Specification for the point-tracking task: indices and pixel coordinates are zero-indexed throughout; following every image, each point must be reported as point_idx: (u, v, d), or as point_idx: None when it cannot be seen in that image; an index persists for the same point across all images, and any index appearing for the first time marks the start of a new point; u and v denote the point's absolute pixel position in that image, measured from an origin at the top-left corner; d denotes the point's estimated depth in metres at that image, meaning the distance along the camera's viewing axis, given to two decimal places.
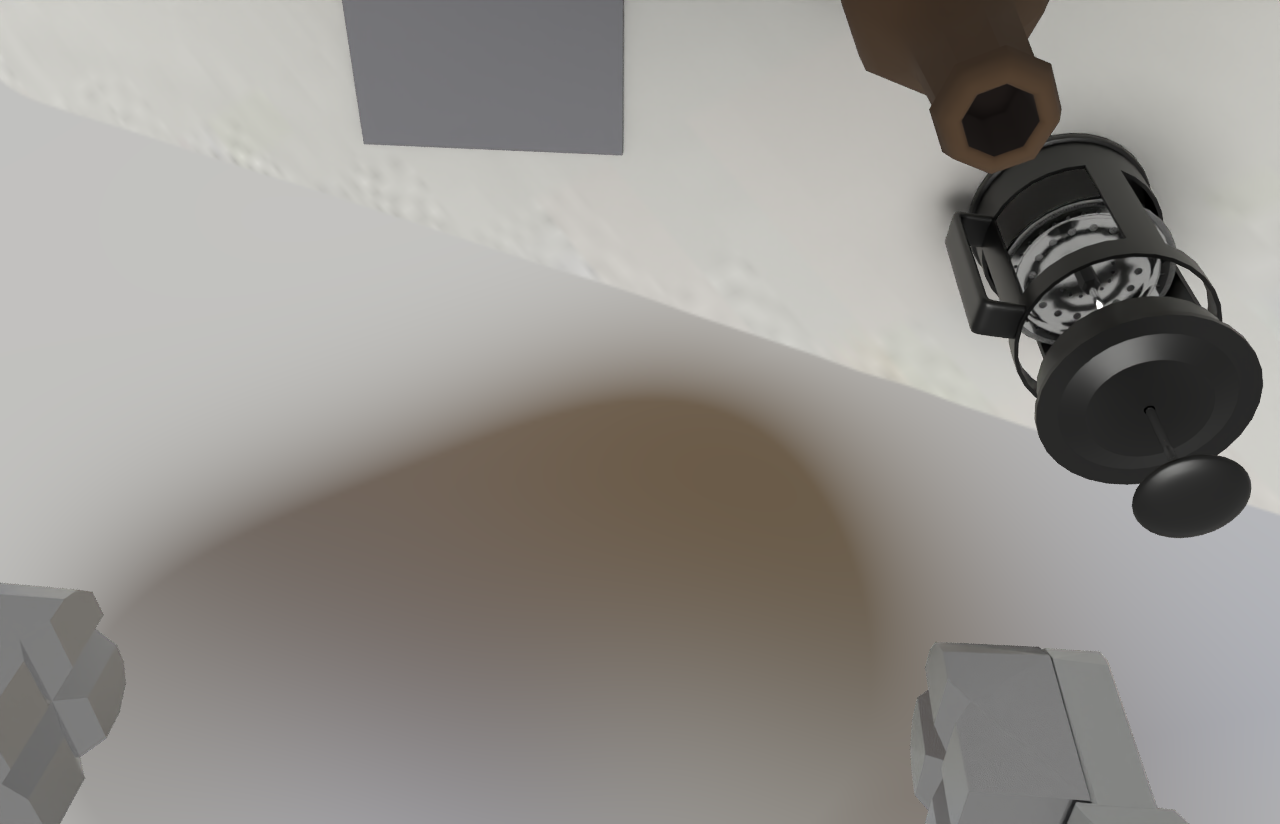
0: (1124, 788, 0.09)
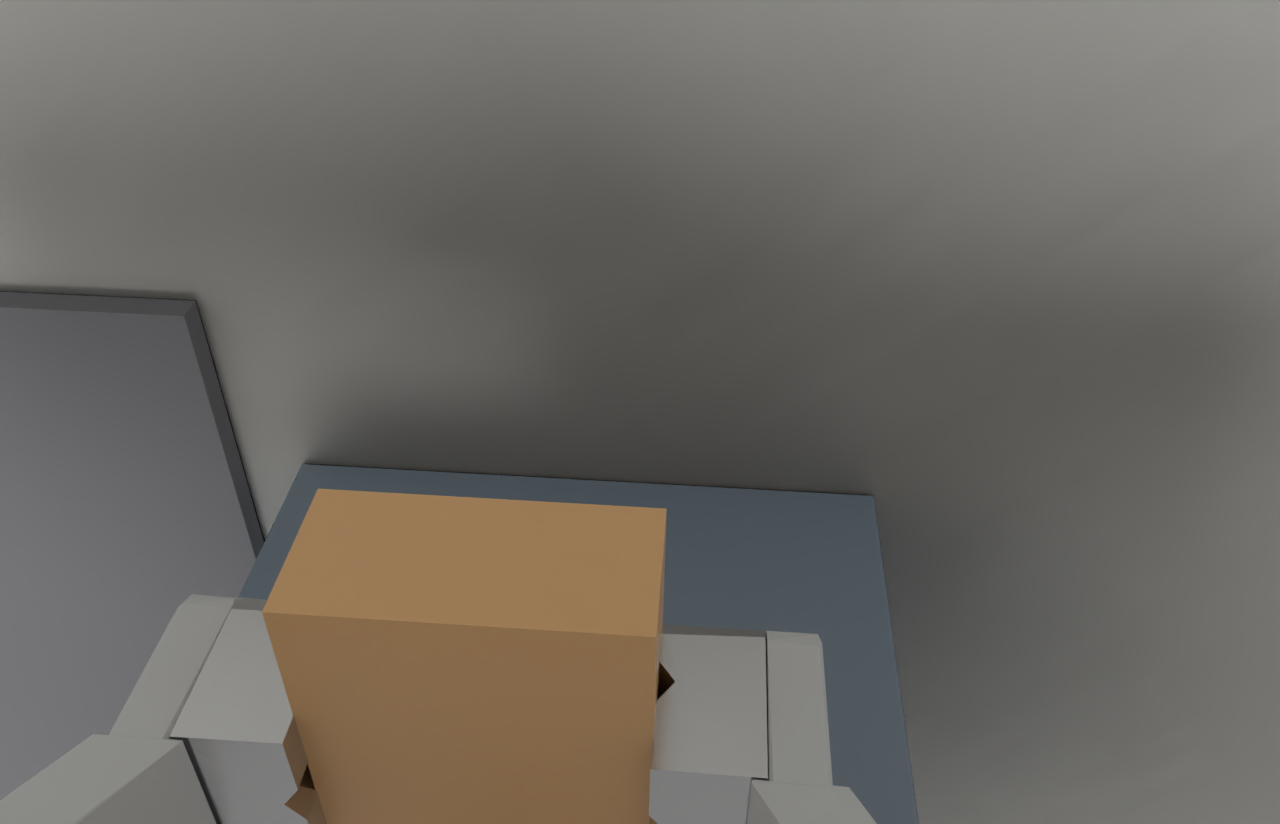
0: (803, 766, 0.09)
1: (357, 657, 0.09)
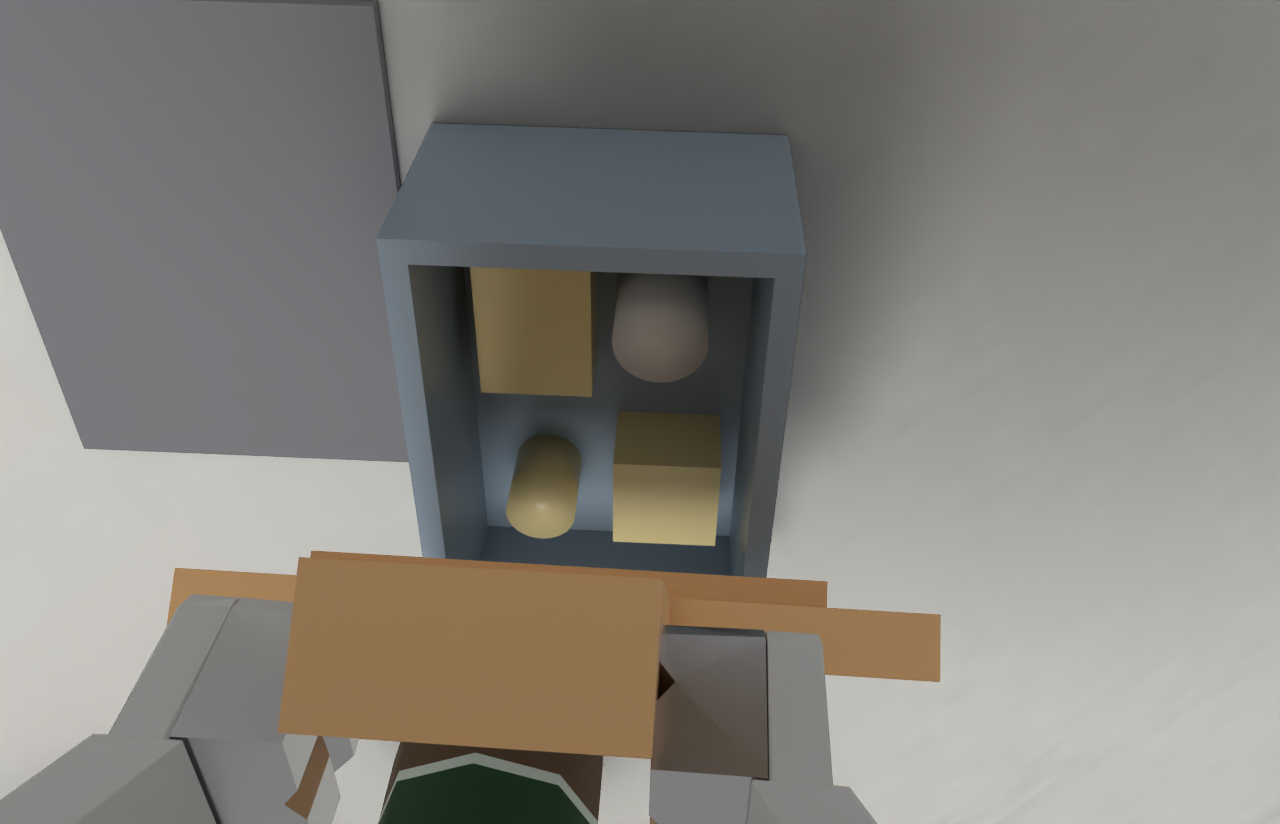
0: (804, 766, 0.09)
1: None
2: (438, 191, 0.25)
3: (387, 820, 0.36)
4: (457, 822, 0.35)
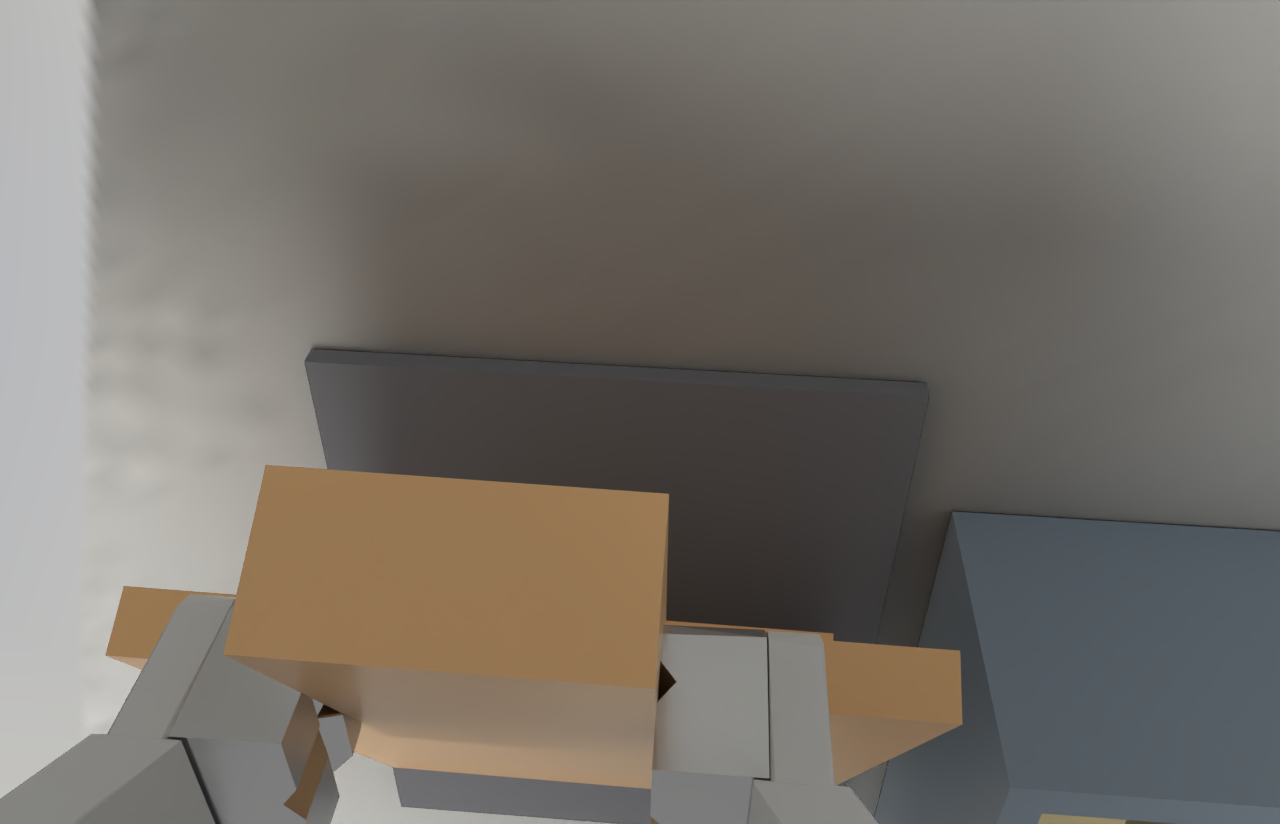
0: (805, 766, 0.09)
1: (336, 673, 0.08)
2: (1039, 671, 0.18)
3: None
4: None
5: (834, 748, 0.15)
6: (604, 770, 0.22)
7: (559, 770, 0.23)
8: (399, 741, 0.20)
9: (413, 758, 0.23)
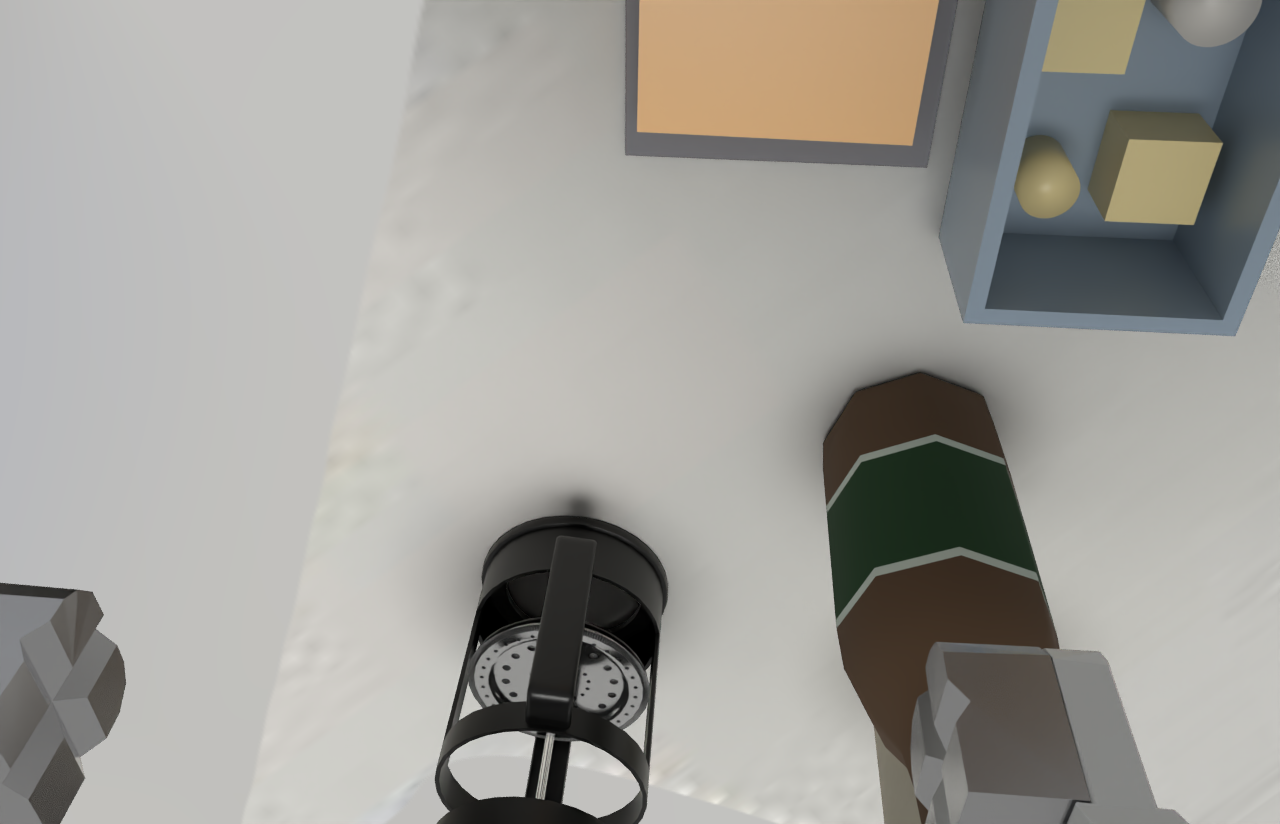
0: (1124, 788, 0.09)
1: None
2: None
3: (864, 487, 0.42)
4: (939, 479, 0.40)
5: None
6: (798, 15, 0.36)
7: (765, 45, 0.36)
8: None
9: (672, 42, 0.37)
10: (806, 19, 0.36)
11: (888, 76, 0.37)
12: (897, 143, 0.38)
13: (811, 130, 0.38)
